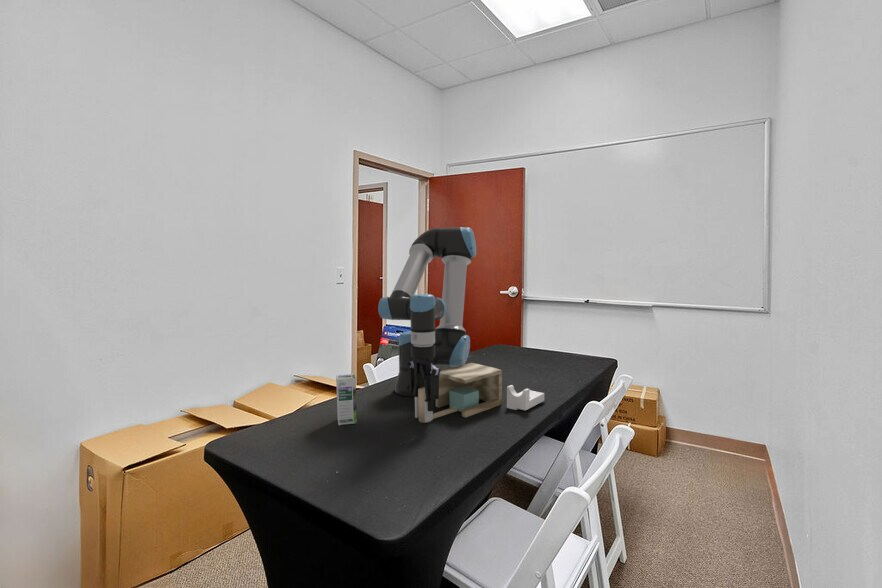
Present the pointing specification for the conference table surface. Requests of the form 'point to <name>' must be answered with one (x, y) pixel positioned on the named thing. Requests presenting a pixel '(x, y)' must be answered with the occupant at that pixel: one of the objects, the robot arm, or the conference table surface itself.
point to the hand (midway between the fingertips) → (423, 418)
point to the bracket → (523, 398)
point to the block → (458, 401)
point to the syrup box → (346, 399)
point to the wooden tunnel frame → (472, 385)
